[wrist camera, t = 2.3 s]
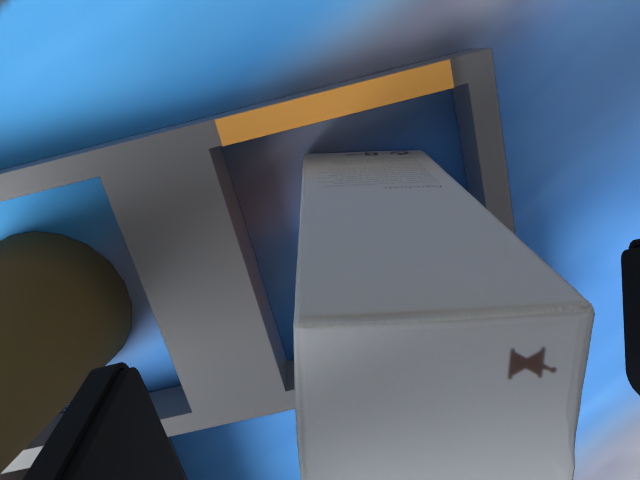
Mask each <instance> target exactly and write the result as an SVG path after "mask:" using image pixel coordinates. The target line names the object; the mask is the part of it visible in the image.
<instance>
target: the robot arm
mask: <svg viewBox="0 0 640 480" xmlns="http://www.w3.org/2000/svg"><path fill="white" fill-rule="evenodd" d="M621 268H622V292H623V316H624V339H625V363H626V374H627V377H628V380H629V382H630V384H631V386H632V388H633V389H634V390H635V391H636V392H637V393H638V394H639V395H640V239H637V240H633V241H632V242H631V243H630V245H629V249H628V250H625V251H624V252H623V253H622V256H621ZM23 480H185V479H184V474H183V471H182V469H181V466H180V464H179V462H178V460H177V457H176V455H175V453H174V450H173V448H172V446H171V444H170V441H169V439H168V437H167V434H166V432H165V430H164V428H163V425H162V423H161V421H160V419H159V416H158V414H157V412H156V409H155V407H154V405H153V403H152V400H151V398H150V396H149V393H148V391H147V389H146V387H145V384H144V382H143V380H142V378H141V375H140V373H139V371H138V370H137V369H136V368H134V367H132V368H129V367H128V366H127V365H126V364H125V363H123V362H121V363H117V364H113V365H108V366H104V367H100V368H96V369H92V370H91V371H90V373H89V374H88V376H87V377H86V379H85V380H84V382H83V384H82V385H81V387H80V388H79V390H78V392H77V393H76V395H75V396H74V398H73V400H72V401H71V403H70V404H69V406H68V408H67V409H66V411H65V412H64V414H63V416H62V417H61V419H60V420H59V422H58V424H57V425H56V427H55V428H54V430H53V432H52V433H51V435H50V436H49V438H48V440H47V441H46V443H45V444H44V446H43V448H42V449H41V451H40V452H39V454H38V456H37V457H36V459H35V460H34V462H33V464H32V465H31V467H30V468H29V470H28V472H27V473H26V475H25V476H24V478H23Z"/></svg>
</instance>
